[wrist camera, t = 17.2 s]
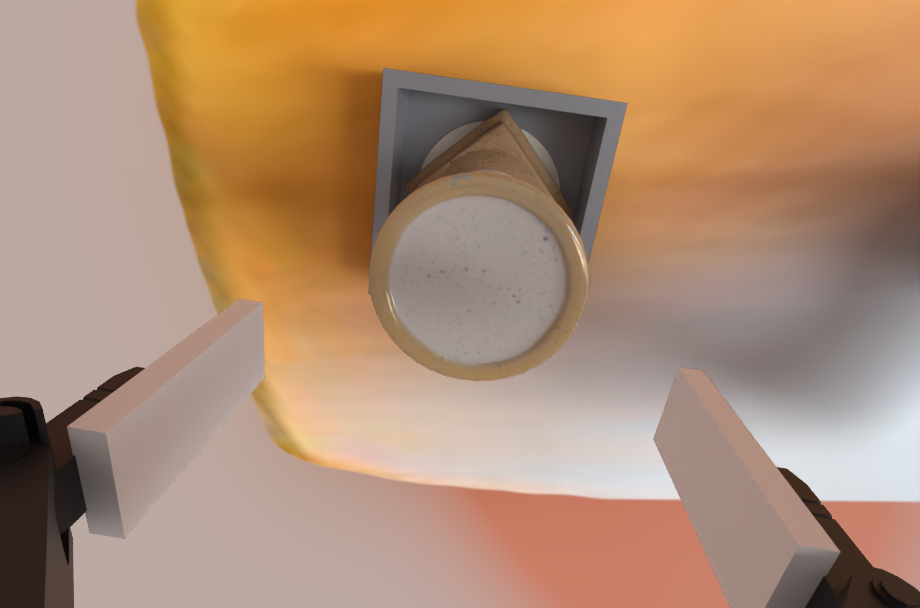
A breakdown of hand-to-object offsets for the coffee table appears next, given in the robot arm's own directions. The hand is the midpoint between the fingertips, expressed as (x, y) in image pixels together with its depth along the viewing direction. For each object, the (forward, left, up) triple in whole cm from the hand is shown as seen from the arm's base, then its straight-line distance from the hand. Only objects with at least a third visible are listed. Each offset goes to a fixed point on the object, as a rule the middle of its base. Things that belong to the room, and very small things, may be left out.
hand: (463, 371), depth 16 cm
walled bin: (0, 0, -33) cm, 33 cm away
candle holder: (0, 0, -31) cm, 32 cm away
